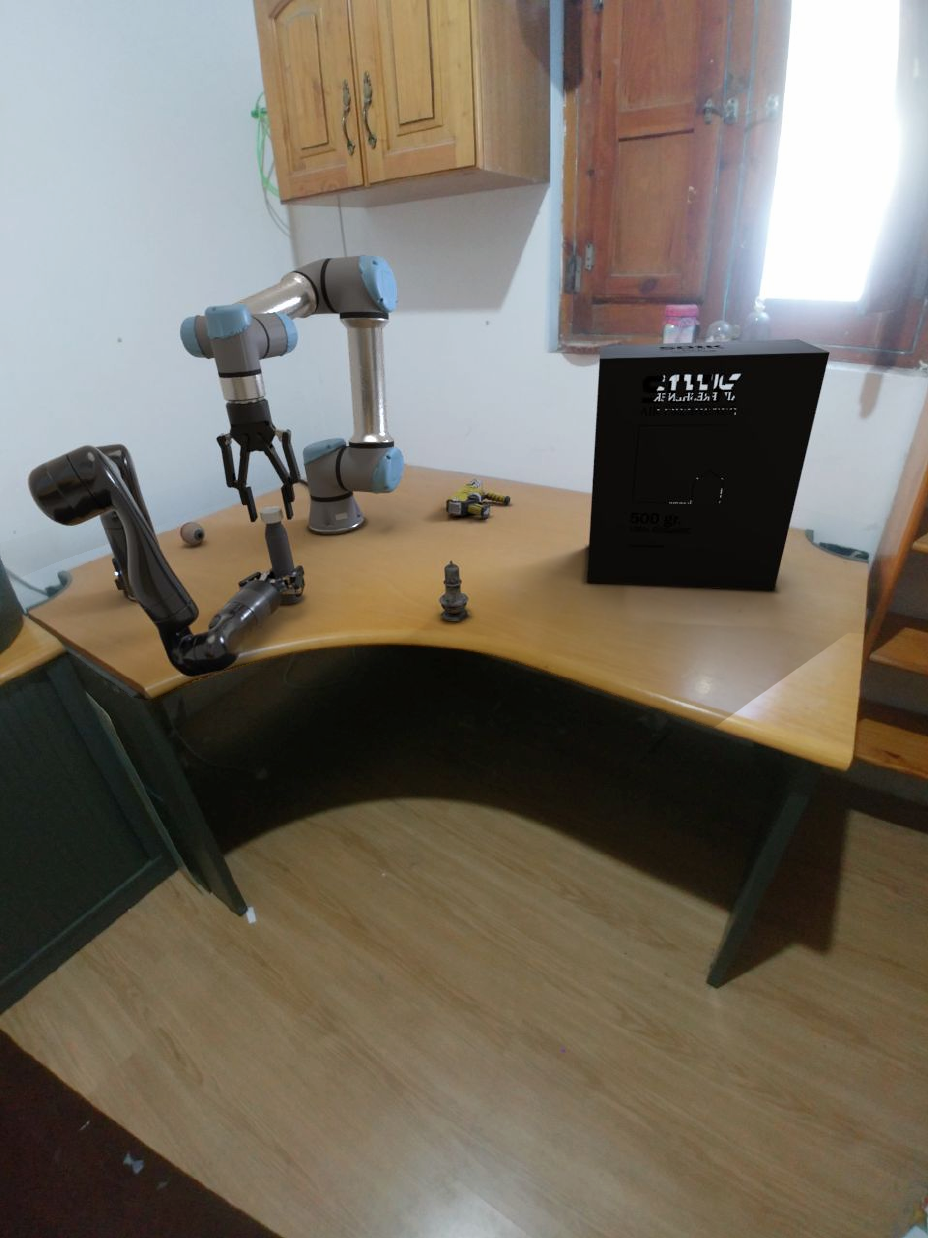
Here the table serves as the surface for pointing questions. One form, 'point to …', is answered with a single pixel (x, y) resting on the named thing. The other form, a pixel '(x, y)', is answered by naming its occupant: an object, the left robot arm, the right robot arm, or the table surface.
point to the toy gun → (473, 500)
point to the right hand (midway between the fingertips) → (272, 518)
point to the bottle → (280, 555)
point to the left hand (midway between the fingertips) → (290, 568)
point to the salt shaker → (453, 595)
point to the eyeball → (192, 533)
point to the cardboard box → (699, 461)
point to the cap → (271, 514)
